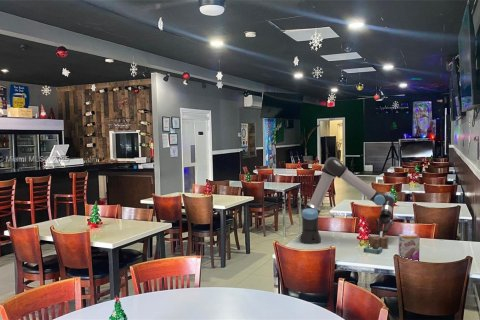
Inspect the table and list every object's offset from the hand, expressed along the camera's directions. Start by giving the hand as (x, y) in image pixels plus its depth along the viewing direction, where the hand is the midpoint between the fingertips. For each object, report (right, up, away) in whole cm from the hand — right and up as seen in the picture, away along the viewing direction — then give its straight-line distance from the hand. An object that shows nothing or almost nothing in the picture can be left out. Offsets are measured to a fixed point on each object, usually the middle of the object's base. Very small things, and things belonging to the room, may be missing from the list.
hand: (380, 240), depth 293 cm
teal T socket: (-10, -5, -15) cm, 19 cm away
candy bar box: (+4, -6, -39) cm, 40 cm away
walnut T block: (-5, -4, -7) cm, 9 cm away
